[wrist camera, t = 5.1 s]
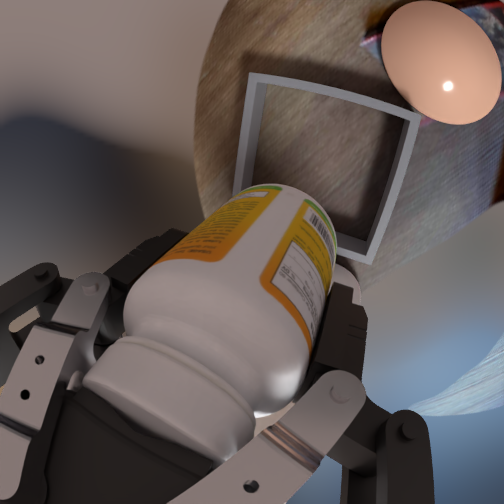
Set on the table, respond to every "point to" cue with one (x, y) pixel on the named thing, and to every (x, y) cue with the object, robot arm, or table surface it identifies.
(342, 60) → the table surface
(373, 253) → the bin
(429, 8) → the plate
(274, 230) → the supplement bottle
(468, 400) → the table surface
